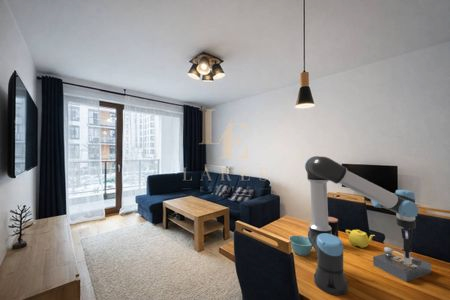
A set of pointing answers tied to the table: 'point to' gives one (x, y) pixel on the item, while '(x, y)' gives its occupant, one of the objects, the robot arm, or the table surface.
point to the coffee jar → (333, 225)
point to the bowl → (300, 245)
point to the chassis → (401, 266)
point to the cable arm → (401, 255)
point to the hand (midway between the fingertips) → (407, 263)
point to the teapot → (359, 238)
